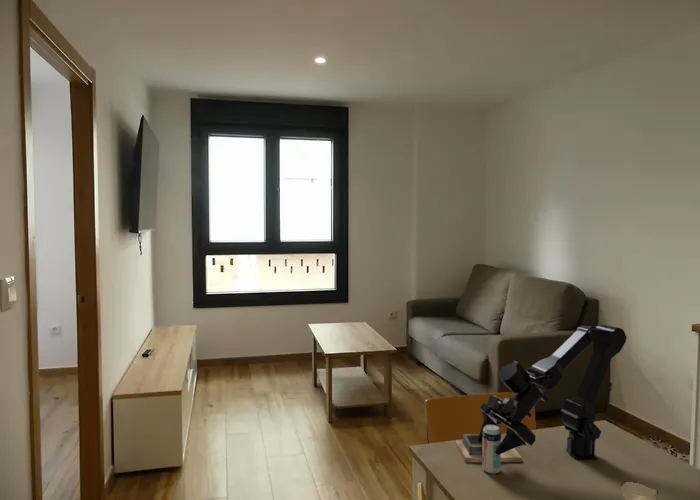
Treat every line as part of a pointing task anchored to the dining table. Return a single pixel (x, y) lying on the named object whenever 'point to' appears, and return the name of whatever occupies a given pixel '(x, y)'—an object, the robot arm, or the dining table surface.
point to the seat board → (481, 450)
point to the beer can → (491, 449)
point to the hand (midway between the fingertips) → (487, 447)
